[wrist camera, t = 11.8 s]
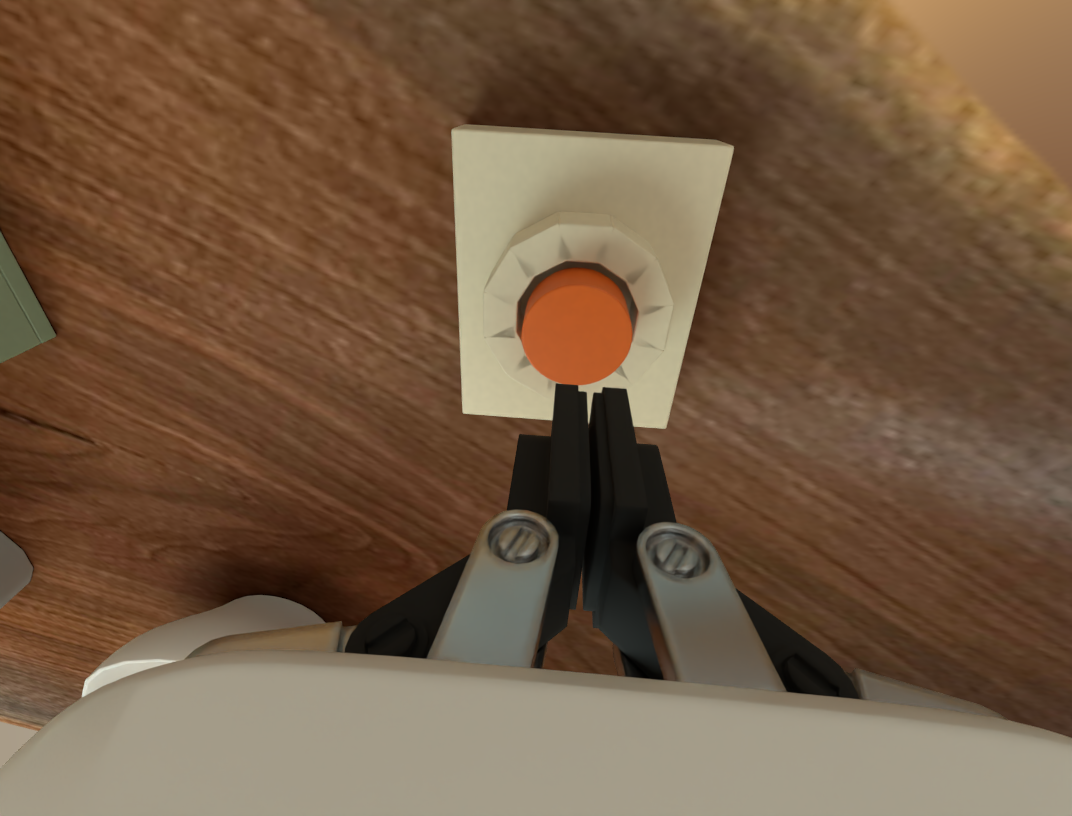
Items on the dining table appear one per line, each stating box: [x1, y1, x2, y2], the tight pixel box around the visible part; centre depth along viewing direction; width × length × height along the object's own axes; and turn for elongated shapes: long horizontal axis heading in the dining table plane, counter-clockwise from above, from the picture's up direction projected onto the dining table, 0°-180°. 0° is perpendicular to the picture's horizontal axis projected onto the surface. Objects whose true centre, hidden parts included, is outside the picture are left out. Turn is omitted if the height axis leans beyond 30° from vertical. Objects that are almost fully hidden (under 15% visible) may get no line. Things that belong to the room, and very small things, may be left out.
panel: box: [451, 124, 734, 429], centre depth 19 cm, size 11×9×4 cm
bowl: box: [82, 595, 325, 697], centre depth 33 cm, size 16×16×7 cm
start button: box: [521, 268, 633, 385], centre depth 17 cm, size 4×4×2 cm
